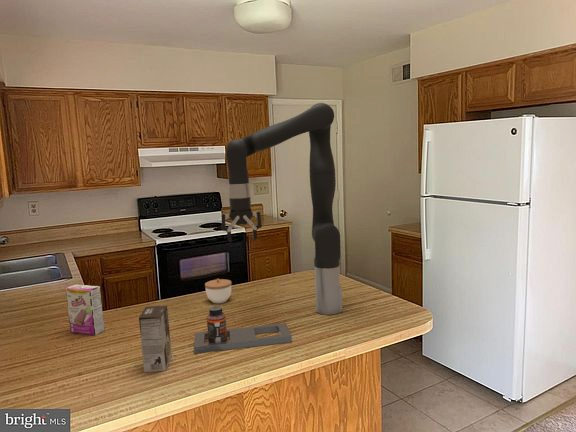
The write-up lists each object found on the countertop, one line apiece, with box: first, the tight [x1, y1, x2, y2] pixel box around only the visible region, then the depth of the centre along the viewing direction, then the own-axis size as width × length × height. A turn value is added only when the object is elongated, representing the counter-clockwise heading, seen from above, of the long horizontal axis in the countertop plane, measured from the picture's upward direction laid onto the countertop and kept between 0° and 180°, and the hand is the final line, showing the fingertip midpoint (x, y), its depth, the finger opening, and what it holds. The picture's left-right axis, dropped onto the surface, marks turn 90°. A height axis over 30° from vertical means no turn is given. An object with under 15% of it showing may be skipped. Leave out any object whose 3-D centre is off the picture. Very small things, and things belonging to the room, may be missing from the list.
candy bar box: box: [64, 283, 106, 336], centre depth 152 cm, size 11×5×16 cm, turn 71°
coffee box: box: [138, 304, 173, 373], centre depth 125 cm, size 9×6×16 cm
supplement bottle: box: [206, 305, 227, 343], centre depth 138 cm, size 6×6×11 cm
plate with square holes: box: [193, 322, 293, 354], centre depth 140 cm, size 30×11×2 cm, turn 99°
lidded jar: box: [204, 278, 232, 304], centre depth 179 cm, size 11×11×9 cm
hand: (242, 240), depth 158 cm, fingers open, 8 cm apart
